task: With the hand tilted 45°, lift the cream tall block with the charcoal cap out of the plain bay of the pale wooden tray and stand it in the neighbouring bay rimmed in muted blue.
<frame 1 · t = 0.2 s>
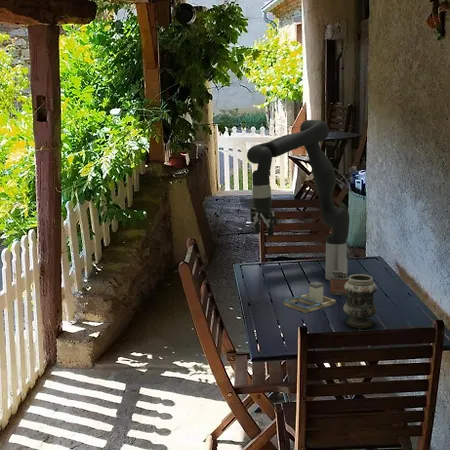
hand: (264, 234, 258), 28 cm above the table, tool pointing down, fingers open, 8 cm apart
cream tall block: (316, 302, 259), resting in bay tray
apothecary jar: (359, 323, 235), on the table
bay tray: (309, 304, 257), on the table
lighter: (339, 294, 269), on the table
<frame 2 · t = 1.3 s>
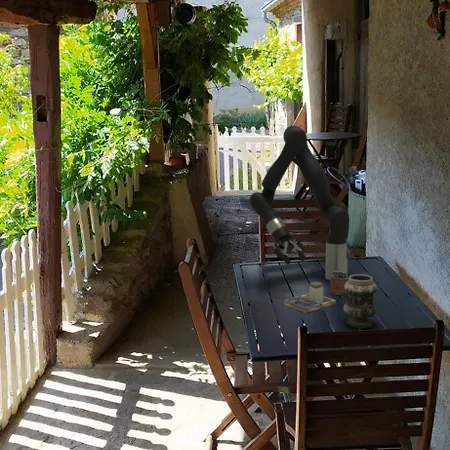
hand: (296, 261, 265), 15 cm above the table, tool tilted 45°, fingers open, 8 cm apart
nothing on the table moved.
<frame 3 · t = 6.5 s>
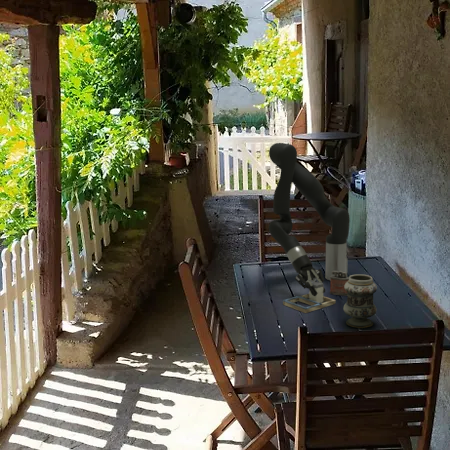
hand: (319, 293, 257), 4 cm above the table, tool tilted 45°, fingers closed on cream tall block, 4 cm apart
cream tall block: (316, 302, 259), resting in bay tray, touching gripper
everything else where it was.
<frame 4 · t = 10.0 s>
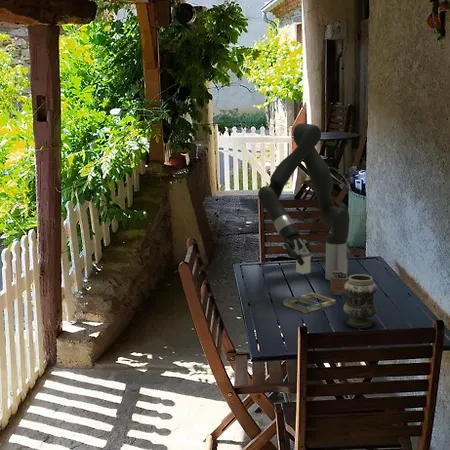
hand: (306, 263, 249), 18 cm above the table, tool tilted 45°, fingers closed on cream tall block, 4 cm apart
cream tall block: (303, 272, 252), point 14 cm above the table, touching gripper
everything else where it was.
when the fingers open (5 cm above the table, at t = 13.9 s): cream tall block drops 1 cm, resting in bay tray.
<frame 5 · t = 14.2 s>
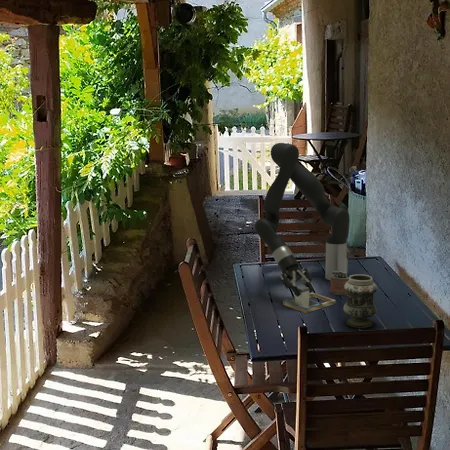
hand: (305, 293, 252), 6 cm above the table, tool tilted 45°, fingers open, 6 cm apart
cream tall block: (302, 306, 254), resting in bay tray
everything else where it was.
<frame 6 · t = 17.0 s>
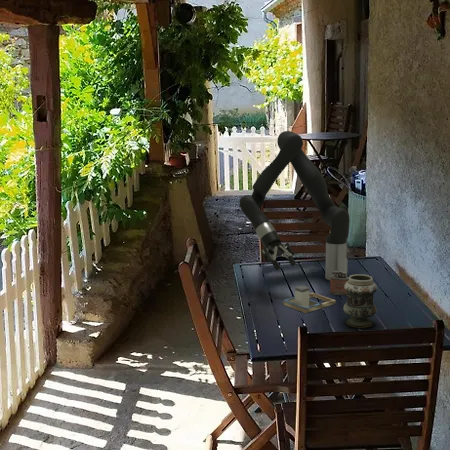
hand: (286, 267, 258), 14 cm above the table, tool tilted 45°, fingers open, 8 cm apart
nothing on the table moved.
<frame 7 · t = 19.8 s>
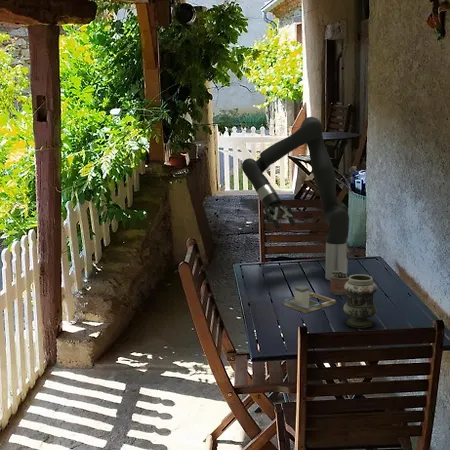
hand: (287, 227, 267), 29 cm above the table, tool tilted 45°, fingers open, 8 cm apart
nothing on the table moved.
at the end: cream tall block 0.1 cm from the target spot on the bay tray, point 0.0 cm above the bay tray's base; cream tall block tilted 0°; the gripper is holding nothing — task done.
